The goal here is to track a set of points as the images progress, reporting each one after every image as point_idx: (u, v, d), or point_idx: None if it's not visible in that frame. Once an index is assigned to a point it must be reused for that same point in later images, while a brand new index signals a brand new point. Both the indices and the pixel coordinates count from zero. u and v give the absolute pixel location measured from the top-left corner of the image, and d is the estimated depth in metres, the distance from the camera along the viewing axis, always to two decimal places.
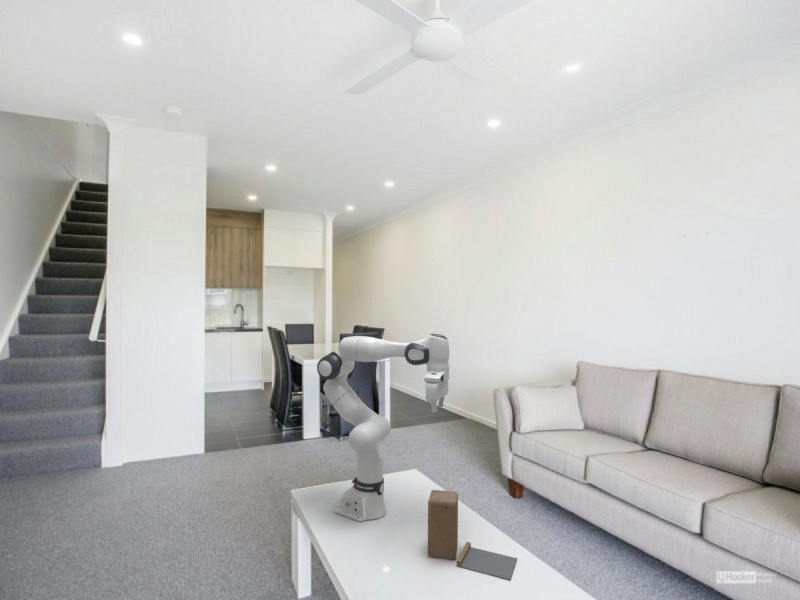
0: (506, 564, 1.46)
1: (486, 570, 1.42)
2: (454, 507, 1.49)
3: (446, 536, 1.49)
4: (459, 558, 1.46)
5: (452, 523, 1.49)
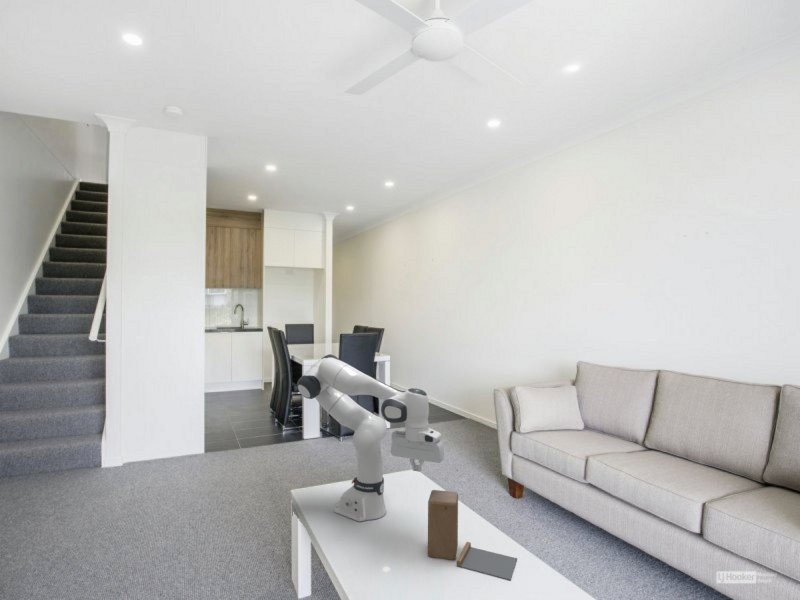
0: (506, 564, 1.46)
1: (486, 570, 1.42)
2: (454, 507, 1.49)
3: (446, 536, 1.49)
4: (459, 558, 1.46)
5: (452, 523, 1.49)
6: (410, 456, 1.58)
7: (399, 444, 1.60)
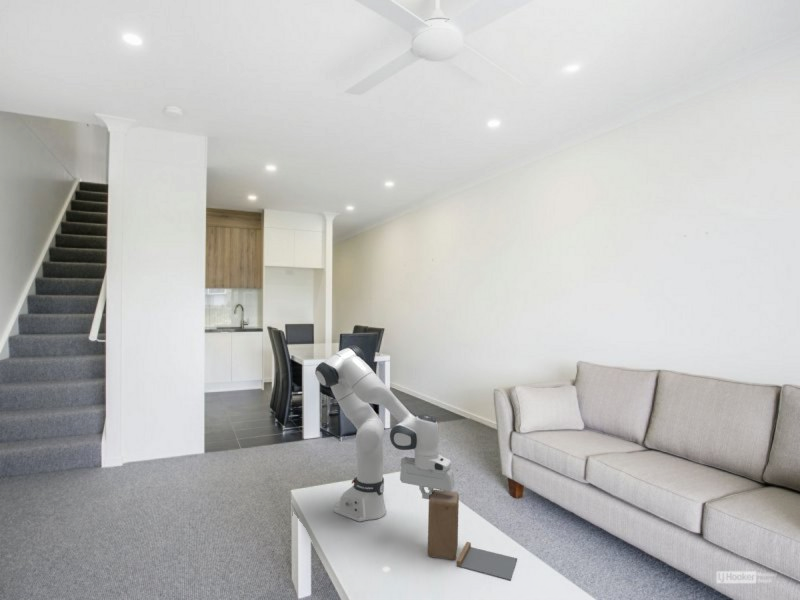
0: (506, 564, 1.46)
1: (486, 570, 1.42)
2: (455, 507, 1.49)
3: (446, 535, 1.49)
4: (459, 558, 1.46)
5: (452, 523, 1.49)
6: (420, 483, 1.56)
7: (408, 471, 1.58)
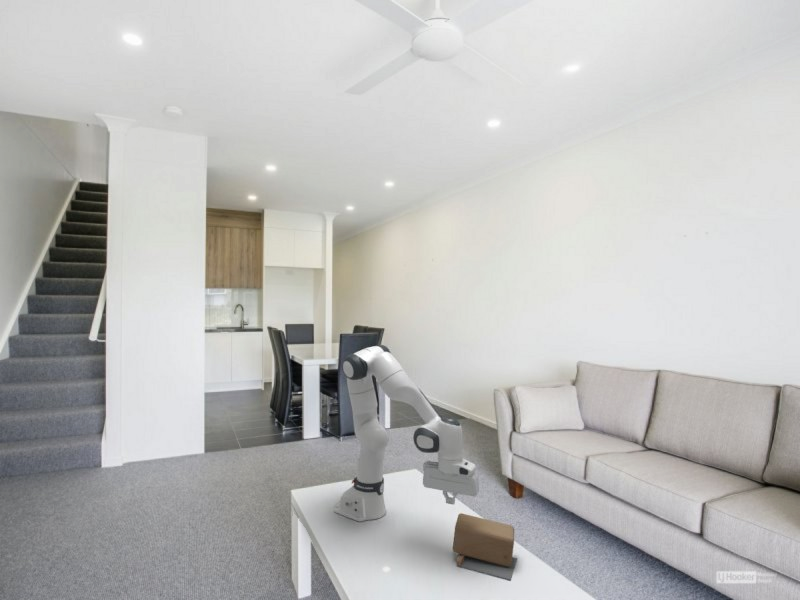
0: None
1: (486, 570, 1.42)
2: (506, 565, 1.44)
3: (476, 550, 1.46)
4: (459, 558, 1.46)
5: (489, 559, 1.45)
6: (444, 488, 1.52)
7: (431, 476, 1.54)
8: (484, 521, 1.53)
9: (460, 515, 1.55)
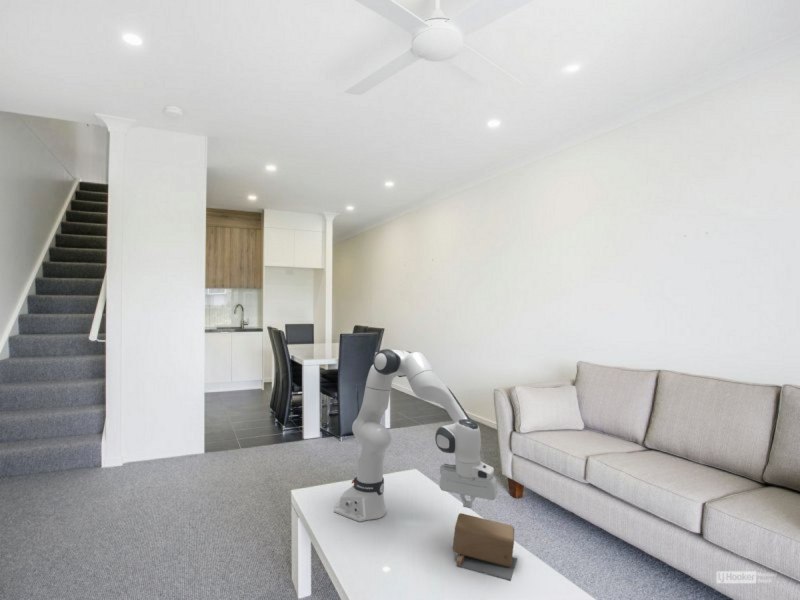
0: None
1: (486, 570, 1.42)
2: (506, 565, 1.44)
3: (476, 550, 1.46)
4: (459, 558, 1.46)
5: (489, 559, 1.45)
6: (461, 491, 1.50)
7: (448, 479, 1.52)
8: (484, 521, 1.53)
9: (460, 515, 1.55)
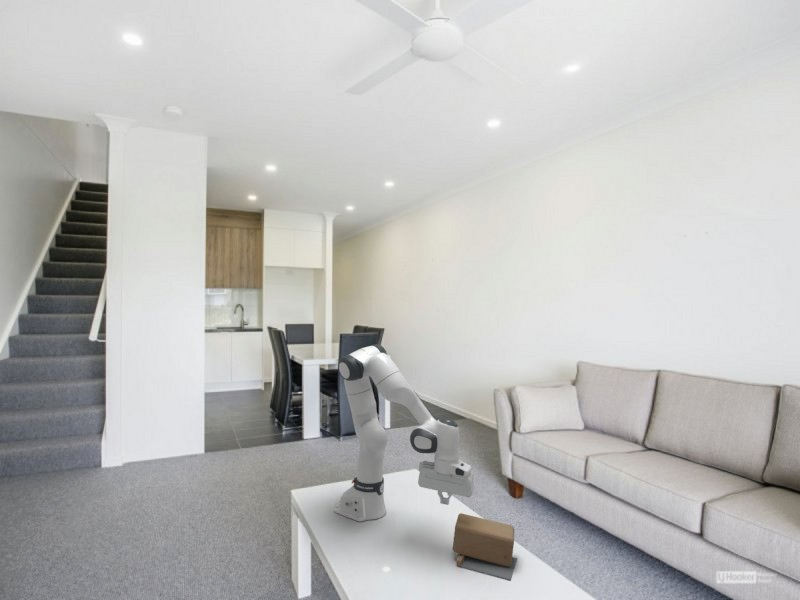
0: None
1: (486, 570, 1.42)
2: (506, 565, 1.44)
3: (476, 550, 1.46)
4: (459, 558, 1.46)
5: (489, 559, 1.45)
6: (439, 488, 1.54)
7: (427, 476, 1.56)
8: (484, 521, 1.53)
9: (460, 515, 1.55)
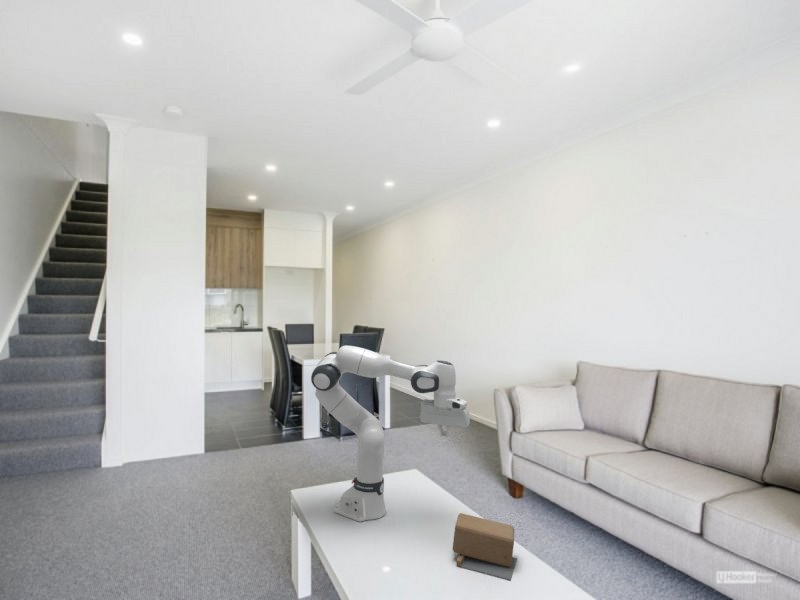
0: None
1: (486, 570, 1.42)
2: (506, 565, 1.44)
3: (476, 550, 1.46)
4: (459, 558, 1.46)
5: (489, 559, 1.45)
6: (438, 421, 1.72)
7: (427, 412, 1.74)
8: (484, 521, 1.53)
9: (460, 515, 1.55)
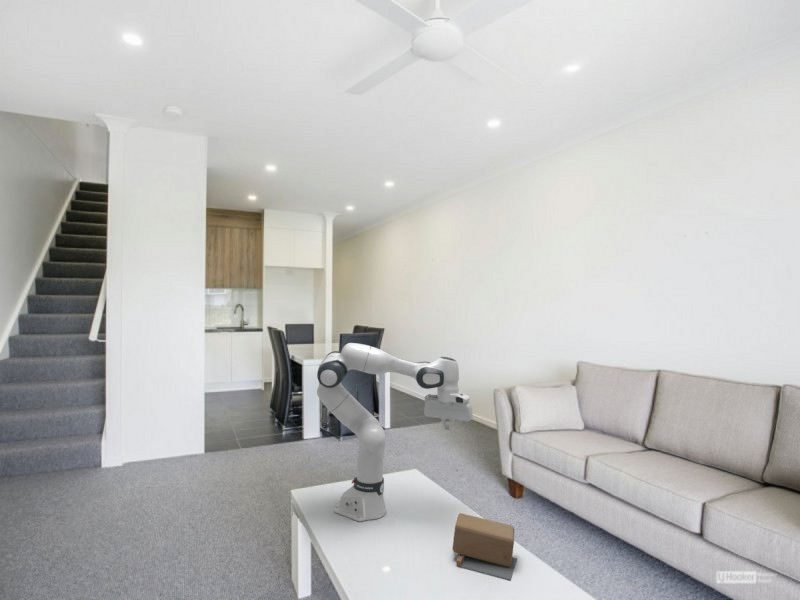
0: None
1: (486, 570, 1.42)
2: (506, 565, 1.44)
3: (476, 550, 1.46)
4: (459, 558, 1.46)
5: (489, 559, 1.45)
6: (442, 416, 1.77)
7: (431, 406, 1.80)
8: (484, 521, 1.53)
9: (460, 515, 1.55)
